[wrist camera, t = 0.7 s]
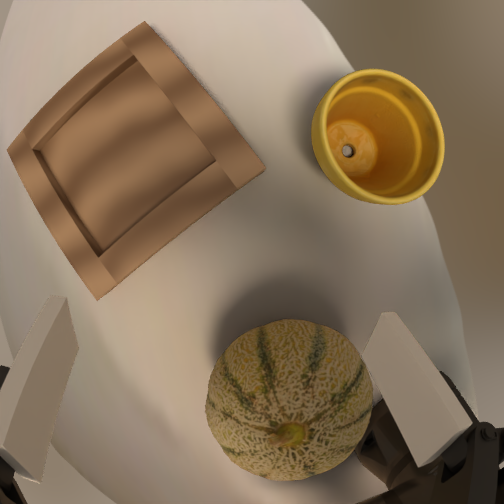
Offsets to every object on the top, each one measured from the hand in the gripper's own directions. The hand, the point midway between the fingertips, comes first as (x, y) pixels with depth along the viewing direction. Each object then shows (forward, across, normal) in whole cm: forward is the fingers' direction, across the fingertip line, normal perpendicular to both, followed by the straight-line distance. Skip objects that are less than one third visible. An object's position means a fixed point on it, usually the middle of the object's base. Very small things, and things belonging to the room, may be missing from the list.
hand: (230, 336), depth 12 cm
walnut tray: (+22, +10, -3) cm, 24 cm away
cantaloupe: (+13, -8, +16) cm, 22 cm away
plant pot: (+19, -12, -6) cm, 24 cm away
